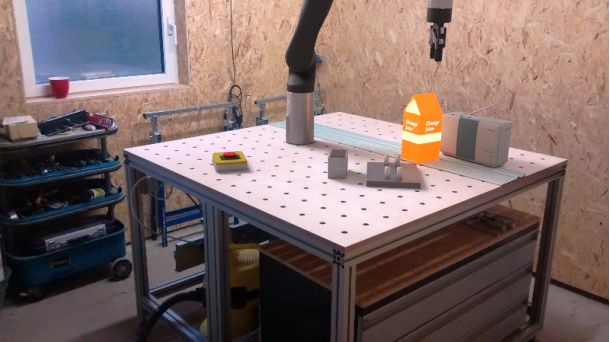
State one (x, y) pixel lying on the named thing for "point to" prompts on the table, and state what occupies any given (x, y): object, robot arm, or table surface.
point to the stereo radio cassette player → (476, 137)
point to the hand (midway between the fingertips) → (435, 60)
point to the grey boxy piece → (337, 163)
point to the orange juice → (422, 129)
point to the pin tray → (392, 174)
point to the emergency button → (229, 162)
